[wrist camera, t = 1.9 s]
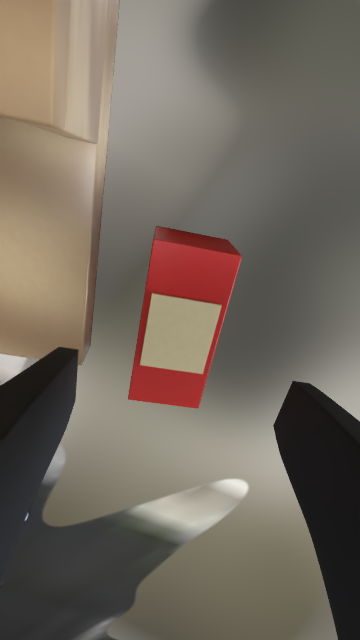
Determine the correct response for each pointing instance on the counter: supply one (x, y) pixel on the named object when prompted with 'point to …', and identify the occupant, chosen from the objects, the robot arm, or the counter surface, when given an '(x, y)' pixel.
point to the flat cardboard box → (52, 168)
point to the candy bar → (181, 316)
